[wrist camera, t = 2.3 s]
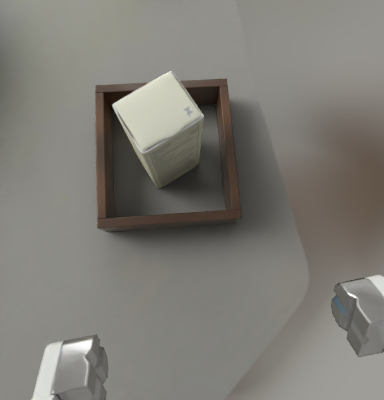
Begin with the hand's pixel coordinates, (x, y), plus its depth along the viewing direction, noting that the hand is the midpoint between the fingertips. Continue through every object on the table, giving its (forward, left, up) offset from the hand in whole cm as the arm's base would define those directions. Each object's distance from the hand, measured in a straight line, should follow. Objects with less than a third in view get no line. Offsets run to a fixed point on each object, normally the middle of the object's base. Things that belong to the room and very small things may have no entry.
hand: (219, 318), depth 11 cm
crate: (+12, +2, -19) cm, 23 cm away
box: (+12, +2, -20) cm, 23 cm away
